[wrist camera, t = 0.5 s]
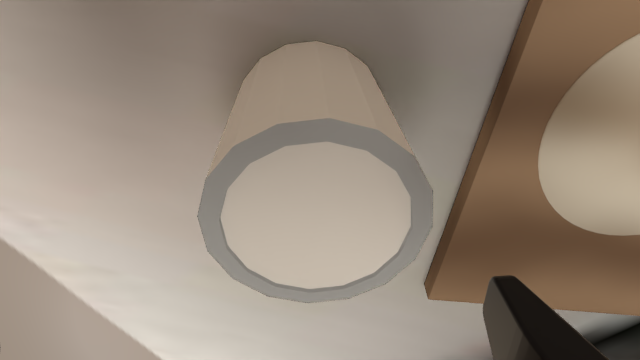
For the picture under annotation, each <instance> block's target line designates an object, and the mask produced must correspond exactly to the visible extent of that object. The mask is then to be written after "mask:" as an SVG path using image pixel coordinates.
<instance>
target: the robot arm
mask: <svg viewBox="0 0 640 360" xmlns="http://www.w3.org/2000/svg"><path fill="white" fill-rule="evenodd" d="M483 316H484V321H485V325H486V330H487V334H488V338H489V342H490V347H491V351H492V355H493V359H494V360H609V359H608V358H607V357H605V356H604V355H603V354H602V353H601V352H600V351H599V350H598V349H596V348H595V347H594V346H593V345H592V344H591V343H590V342H589V341H587V340H586V339H585V338H584V337H583V336H582V335H581V334H580V333H579V332H577V331H576V330H575V329H574V328H573V327H572V326H571V325H570V324H568V323H567V322H566V321H565V320H564V319H563V318H562V317H561V316H559V315H558V314H557V313H556V312H555V311H554V310H553V309H552V308H550V307H549V306H548V305H547V304H546V303H545V302H544V301H543V300H542V299H540V298H539V297H538V296H537V295H536V294H535V293H534V292H533V291H531V290H530V289H529V288H528V287H527V286H526V285H525V284H524V283H522V282H521V281H520V280H519V279H518V278H517V277H515V276H513V275H503V276H493V277H492V278H491V279H490V281H489V284H488V288H487V292H486V296H485V300H484V304H483Z"/></svg>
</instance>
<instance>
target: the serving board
mask: <svg viewBox="0 0 640 360" xmlns="http://www.w3.org/2000/svg"><path fill="white" fill-rule="evenodd" d="M503 275H513V276H515V277H517V278H518V279H519V280H520V281H521V282H522V283H524V284H525V285H526V286H527V287H528V288H529V289H530V290H531V291H533V292H534V293H535V294H536V295H537V296H538V297H539V298H540V299H542V300H543V301H544V302H545V303H546V304H547V305H548V306H549V307H550V308H552V309H559V310H572V311H585V312H598V313H611V314H623V315H636V316H640V0H529V2H528V4H527V7H526V10H525V13H524V15H523V18H522V21H521V23H520V26H519V29H518V31H517V34H516V37H515V40H514V42H513V45H512V48H511V50H510V53H509V56H508V59H507V61H506V64H505V67H504V69H503V72H502V75H501V78H500V80H499V83H498V86H497V88H496V91H495V94H494V96H493V99H492V102H491V105H490V107H489V110H488V113H487V115H486V118H485V121H484V124H483V126H482V129H481V132H480V134H479V137H478V140H477V143H476V145H475V148H474V151H473V153H472V156H471V159H470V162H469V164H468V167H467V170H466V172H465V175H464V178H463V180H462V183H461V186H460V189H459V191H458V194H457V197H456V199H455V202H454V205H453V208H452V210H451V213H450V216H449V218H448V221H447V224H446V227H445V229H444V232H443V235H442V237H441V240H440V243H439V246H438V248H437V251H436V254H435V256H434V259H433V262H432V264H431V267H430V270H429V273H428V275H427V278H426V281H425V283H424V285H425V289H426V293H427V296H428V299H431V300H444V301H457V302H469V303H482V304H484V300H485V296H486V292H487V288H488V284H489V281H490V279H491V278H492V277H493V276H503Z"/></svg>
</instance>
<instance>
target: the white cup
mask: <svg viewBox="0 0 640 360" xmlns="http://www.w3.org/2000/svg"><path fill="white" fill-rule="evenodd" d="M432 215H433V190H432V188H431V186H430V184H429V182H428V180H427V178H426V176H425V175H424V173H423V171H422V169H421V167H420V165H419V163H418V161H417V159H416V157H415V155H414V154H413V152H412V150H411V148H410V146H409V144H408V142H407V140H406V138H405V136H404V134H403V133H402V131H401V129H400V127H399V125H398V123H397V121H396V119H395V117H394V115H393V113H392V112H391V110H390V108H389V106H388V104H387V102H386V100H385V98H384V96H383V94H382V92H381V91H380V89H379V87H378V85H377V83H376V81H375V79H374V77H373V75H372V74H371V72H370V70H369V68H368V66H367V65H366V64H364V63H363V62H362V61H361V60H359V59H358V58H357V57H355V56H354V55H353V54H352V53H350V52H349V51H348V50H346V49H345V48H341V47H337V46H334V45H330V44H326V43H323V42H319V41H311V42H302V43H293V44H286V45H284V46H282V47H280V48H279V49H277V50H275V51H273V52H271V53H269V54H268V55H266V56H264V57H262V58H260V60H259V61H258V62H257V63H256V65H255V66H254V67H253V68H252V70H251V71H250V72H249V74H248V75H247V76H246V77H245V79H244V80H243V82H242V85H241V88H240V90H239V93H238V95H237V98H236V101H235V103H234V106H233V109H232V111H231V114H230V116H229V119H228V122H227V124H226V127H225V130H224V132H223V135H222V137H221V140H220V143H219V145H218V148H217V151H216V153H215V156H214V158H213V161H212V164H211V166H210V169H209V172H208V174H207V177H206V180H205V184H204V189H203V193H202V198H201V202H200V207H199V211H198V216H197V217H198V220H199V224H200V227H201V230H202V234H203V237H204V240H205V244H206V247H207V251H208V252H209V253H210V254H211V255H212V256H213V257H214V259H215V260H216V261H217V262H218V263H219V264H220V265H221V266H222V267H223V268H224V270H225V271H226V272H227V273H228V274H229V275H230V276H231V277H232V278H233V279H235V280H237V281H239V282H240V283H242V284H244V285H246V286H248V287H250V288H252V289H254V290H256V291H258V292H260V293H262V294H264V295H266V296H269V297H275V298H281V299H287V300H292V301H298V302H304V303H313V302H323V301H332V300H342V299H349V298H352V297H354V296H357V295H359V294H362V293H364V292H367V291H369V290H371V289H374V288H376V287H379V286H381V285H384V284H386V283H387V282H388V281H390V280H391V279H392V278H393V277H394V276H396V275H397V274H398V273H399V272H400V271H402V270H403V269H404V268H405V267H406V266H407V265H409V264H410V263H411V262H412V261H413V260H415V258H416V257H417V255H418V253H419V251H420V249H421V247H422V245H423V243H424V242H425V240H426V238H427V236H428V234H429V232H430V230H431V228H432Z"/></svg>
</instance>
